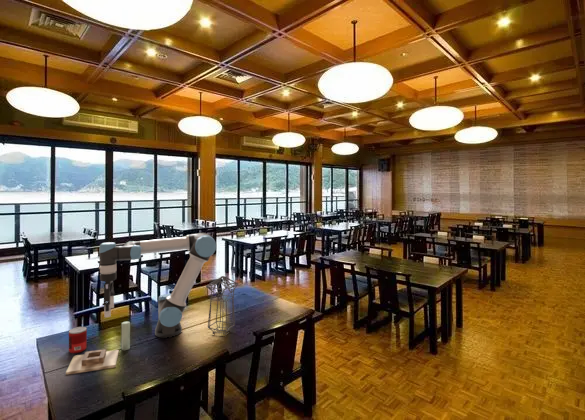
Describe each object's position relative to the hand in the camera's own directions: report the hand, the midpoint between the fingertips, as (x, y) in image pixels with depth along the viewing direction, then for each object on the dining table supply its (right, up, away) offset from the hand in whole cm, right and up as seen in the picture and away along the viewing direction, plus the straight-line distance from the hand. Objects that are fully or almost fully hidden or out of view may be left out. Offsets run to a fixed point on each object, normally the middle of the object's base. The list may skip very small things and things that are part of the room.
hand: (109, 312), depth 173 cm
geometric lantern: (+53, -21, +27) cm, 63 cm away
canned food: (-17, -20, +1) cm, 26 cm away
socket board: (-1, -21, -11) cm, 24 cm away
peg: (+7, -21, +4) cm, 22 cm away
